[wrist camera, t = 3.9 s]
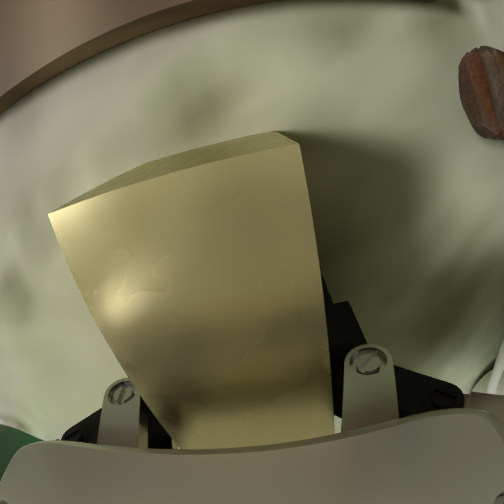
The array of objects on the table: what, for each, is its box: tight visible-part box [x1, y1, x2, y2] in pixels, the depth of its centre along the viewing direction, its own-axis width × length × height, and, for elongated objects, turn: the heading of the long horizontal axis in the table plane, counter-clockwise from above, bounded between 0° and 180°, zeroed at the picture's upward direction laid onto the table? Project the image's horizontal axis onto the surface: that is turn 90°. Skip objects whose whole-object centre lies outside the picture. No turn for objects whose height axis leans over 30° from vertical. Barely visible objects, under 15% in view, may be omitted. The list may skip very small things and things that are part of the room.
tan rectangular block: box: [48, 131, 335, 449], centre depth 10 cm, size 4×13×6 cm, turn 13°
